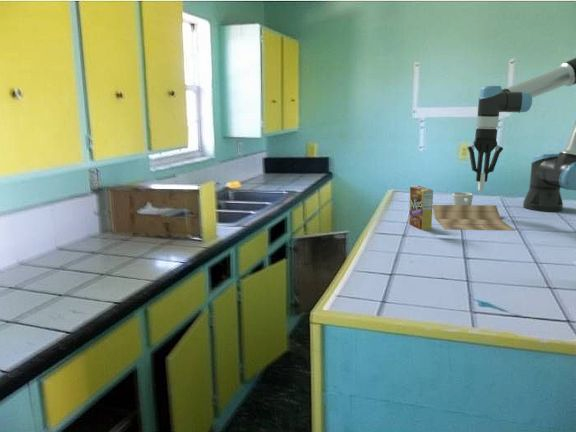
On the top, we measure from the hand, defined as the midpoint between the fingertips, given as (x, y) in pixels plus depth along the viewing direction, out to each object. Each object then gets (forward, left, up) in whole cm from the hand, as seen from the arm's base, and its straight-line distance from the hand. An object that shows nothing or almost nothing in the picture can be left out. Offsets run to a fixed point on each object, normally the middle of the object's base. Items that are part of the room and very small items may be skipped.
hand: (480, 189), depth 194 cm
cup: (+4, -8, -12) cm, 15 cm away
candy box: (+26, +20, -12) cm, 34 cm away
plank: (+6, +3, -9) cm, 11 cm away
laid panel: (+6, +15, -11) cm, 20 cm away
